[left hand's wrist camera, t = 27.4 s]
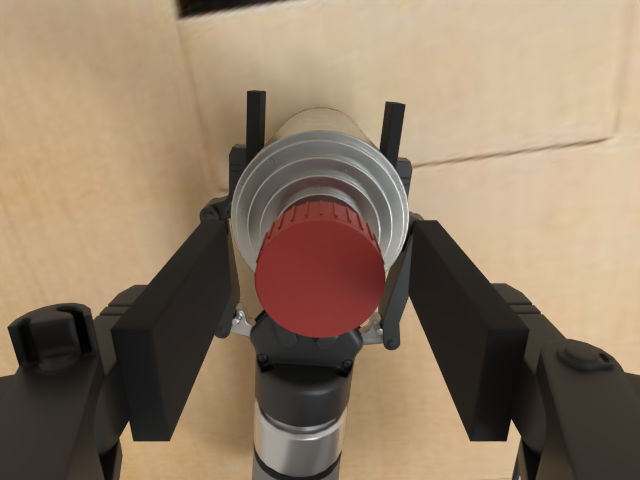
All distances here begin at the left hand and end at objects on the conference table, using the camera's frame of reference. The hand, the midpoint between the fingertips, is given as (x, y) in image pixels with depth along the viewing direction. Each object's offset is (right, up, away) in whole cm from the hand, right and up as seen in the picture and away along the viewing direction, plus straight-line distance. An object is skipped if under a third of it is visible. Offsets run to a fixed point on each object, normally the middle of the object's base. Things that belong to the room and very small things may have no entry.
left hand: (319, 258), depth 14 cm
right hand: (0, +9, +11) cm, 15 cm away
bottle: (0, +7, +19) cm, 21 cm away
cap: (0, -1, -1) cm, 1 cm away
